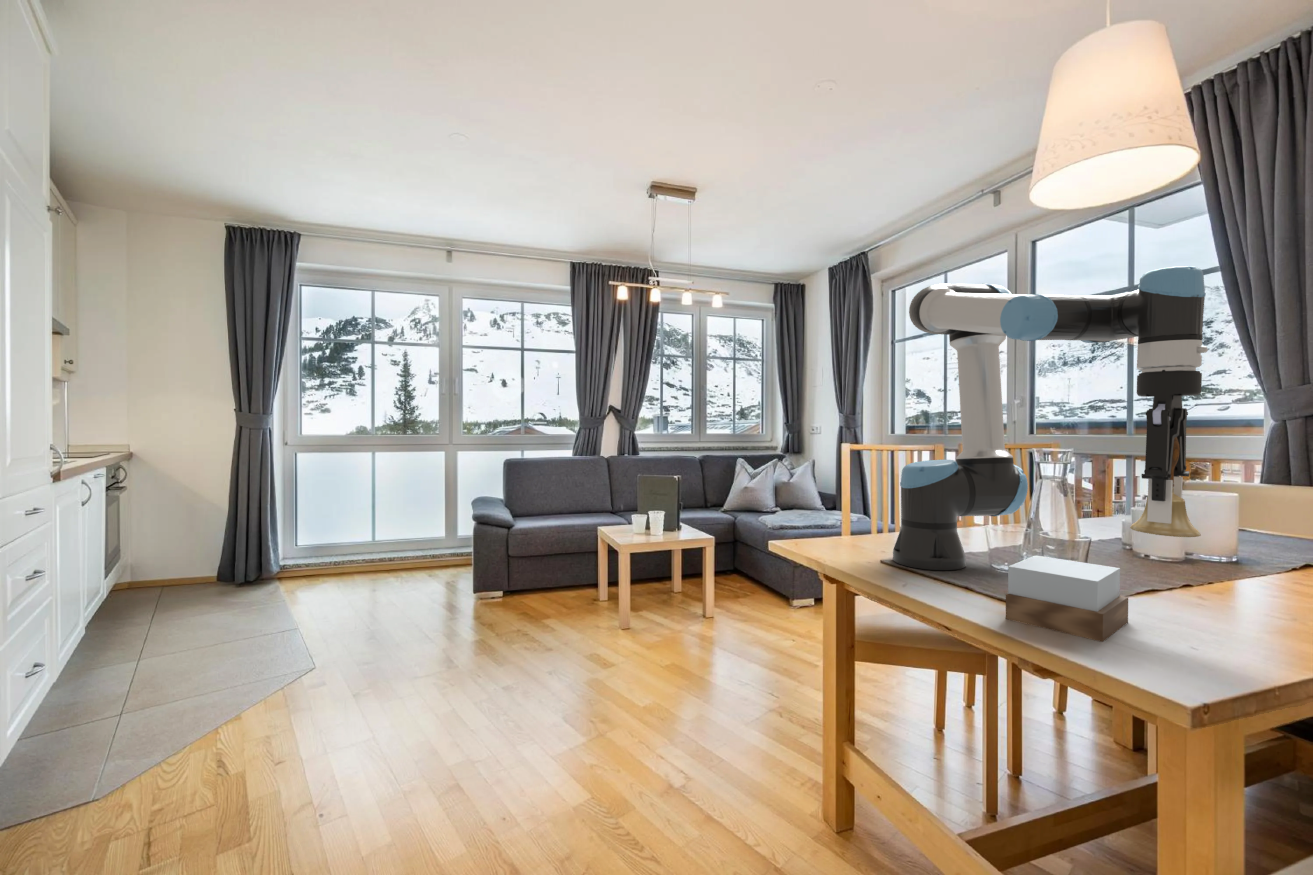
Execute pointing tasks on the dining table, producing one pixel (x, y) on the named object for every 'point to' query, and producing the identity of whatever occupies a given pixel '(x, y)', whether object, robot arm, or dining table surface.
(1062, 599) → the top block
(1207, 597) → the dining table surface
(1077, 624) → the bottom block
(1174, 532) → the hand bell
